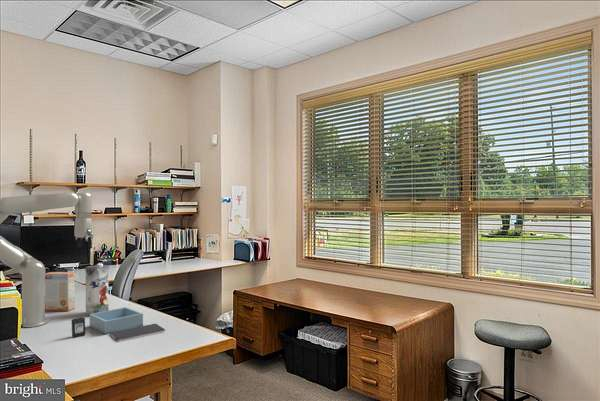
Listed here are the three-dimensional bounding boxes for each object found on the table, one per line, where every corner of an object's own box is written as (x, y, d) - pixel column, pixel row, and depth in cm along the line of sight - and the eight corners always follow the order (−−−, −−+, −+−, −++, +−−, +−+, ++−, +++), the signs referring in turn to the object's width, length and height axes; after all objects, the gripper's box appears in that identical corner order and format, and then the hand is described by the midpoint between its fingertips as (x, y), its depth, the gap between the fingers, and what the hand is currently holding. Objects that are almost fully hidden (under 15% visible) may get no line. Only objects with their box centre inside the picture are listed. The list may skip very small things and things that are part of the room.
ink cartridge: (73, 338, 186) (72, 320, 185) (71, 336, 187) (71, 319, 187) (85, 335, 189) (84, 318, 189) (84, 334, 190) (83, 316, 190)
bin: (105, 334, 190) (105, 321, 190) (89, 326, 202) (89, 314, 202) (143, 325, 203) (142, 313, 203) (126, 318, 215) (126, 306, 215)
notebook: (155, 326, 204) (109, 335, 190) (155, 323, 204) (109, 332, 190) (165, 333, 194) (117, 343, 180) (165, 329, 194) (117, 339, 180)
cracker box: (75, 308, 235) (75, 271, 235) (68, 311, 229) (68, 273, 228) (51, 308, 236) (51, 271, 236) (44, 311, 230) (44, 273, 230)
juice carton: (83, 315, 221) (82, 264, 221) (98, 310, 231) (97, 261, 231) (96, 316, 219) (96, 265, 218) (111, 311, 229) (110, 262, 229)
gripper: (68, 215, 223) (68, 247, 223) (85, 216, 213) (85, 250, 213) (82, 215, 229) (82, 246, 229) (99, 216, 219) (99, 248, 219)
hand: (83, 248), depth 221 cm, fingers open, 9 cm apart
